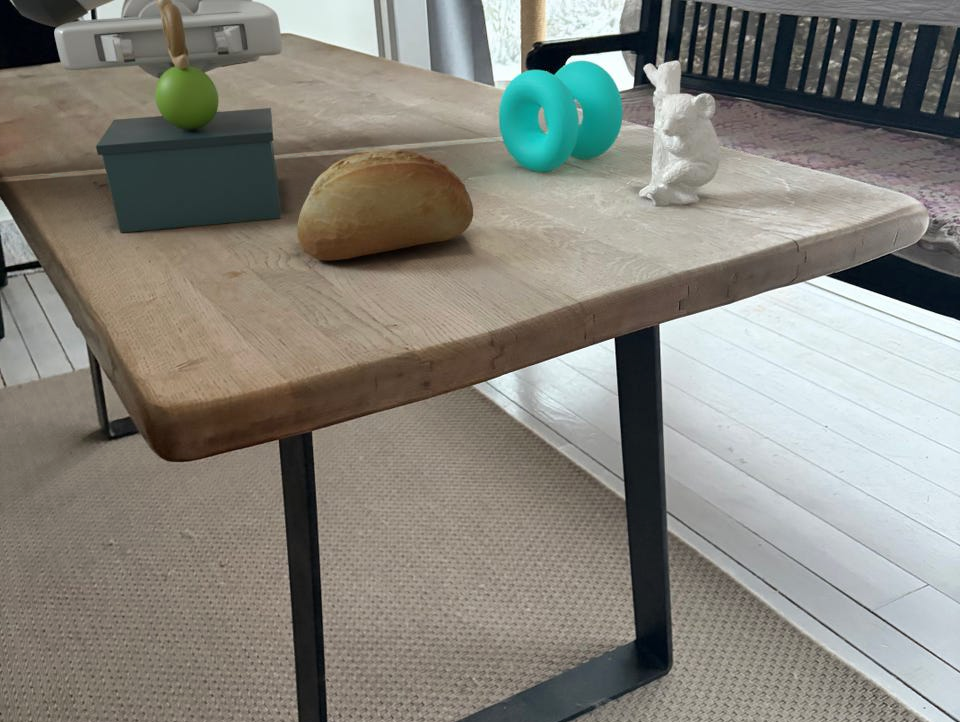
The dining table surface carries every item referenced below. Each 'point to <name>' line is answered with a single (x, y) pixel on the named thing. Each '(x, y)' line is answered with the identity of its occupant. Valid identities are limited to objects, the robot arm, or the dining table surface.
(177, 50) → the snail figurine
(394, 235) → the bread roll
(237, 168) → the container
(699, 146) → the koala figurine
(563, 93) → the donuts
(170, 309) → the dining table surface
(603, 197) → the dining table surface
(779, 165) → the dining table surface
